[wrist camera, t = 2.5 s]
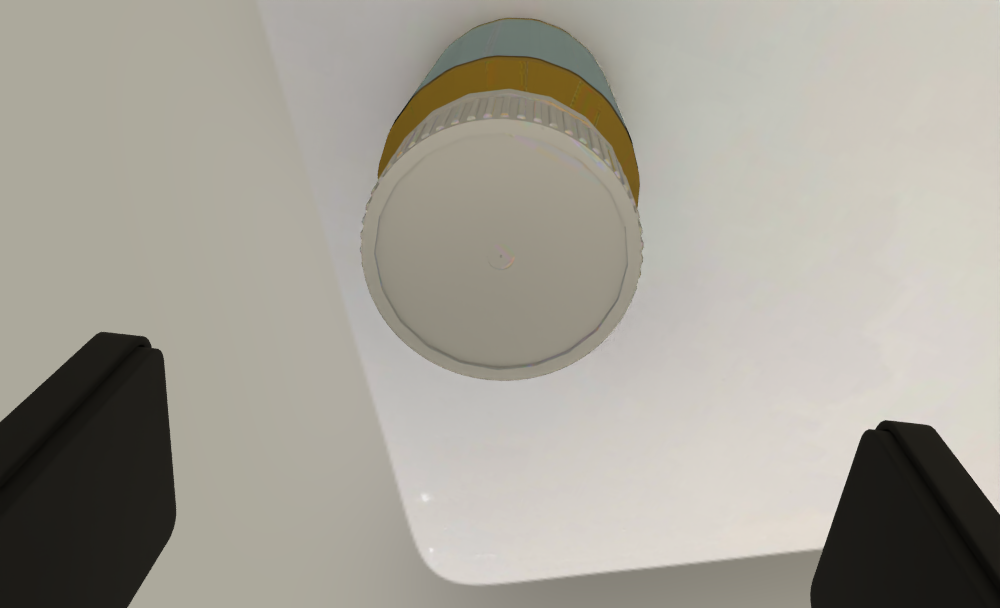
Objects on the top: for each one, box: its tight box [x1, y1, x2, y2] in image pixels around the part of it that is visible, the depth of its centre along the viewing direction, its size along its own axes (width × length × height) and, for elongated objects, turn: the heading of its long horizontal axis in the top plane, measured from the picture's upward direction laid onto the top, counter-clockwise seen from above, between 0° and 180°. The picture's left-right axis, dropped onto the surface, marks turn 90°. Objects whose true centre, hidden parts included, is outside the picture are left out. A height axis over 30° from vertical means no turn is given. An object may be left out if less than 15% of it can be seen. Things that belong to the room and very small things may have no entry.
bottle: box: [360, 18, 643, 381], centre depth 25 cm, size 7×7×15 cm
